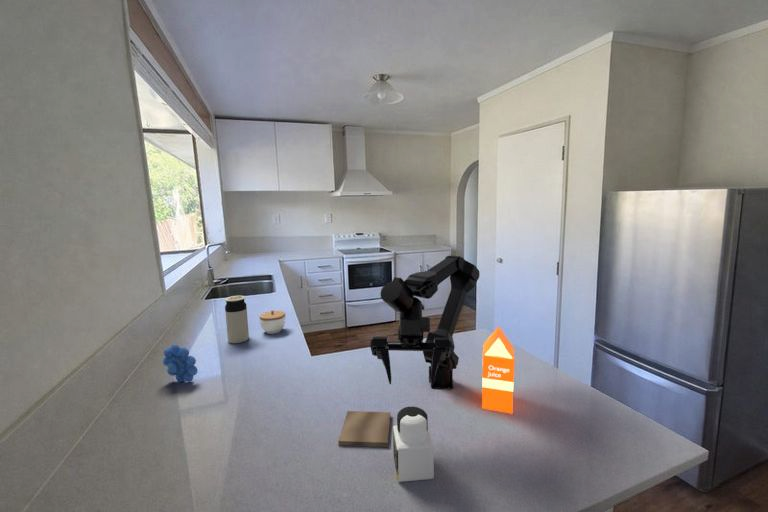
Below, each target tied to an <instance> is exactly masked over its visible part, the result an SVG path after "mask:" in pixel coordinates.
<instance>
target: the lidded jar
mask: <svg viewBox="0 0 768 512" xmlns="http://www.w3.org/2000/svg"><path fill="white" fill-rule="evenodd" d="M259 320H260V327H261V329H262V330H263V331H264V332H266V333H267V334H271V335H272V334H273V335H275V334H278V333H280V332H282V330H283V329H284V327H285V324H286V312H285V311H283V310H269V311H266V312H263V313H261V314H260V315H259Z"/></svg>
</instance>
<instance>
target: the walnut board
mask: <svg viewBox="0 0 768 512" xmlns="http://www.w3.org/2000/svg"><path fill="white" fill-rule="evenodd" d="M390 424H391V411H384V412H383V411H358V410H357V411H356V410H353V411H352V410H348V411H346V415H345V419H344V421H343V425H342V428H341V431H340V434H339V437H338V446H357V447H358V446H359V447H385V448H386V447H389V446H388V445H389V436H390V435H389V434H390Z"/></svg>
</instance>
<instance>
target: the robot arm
mask: <svg viewBox="0 0 768 512" xmlns="http://www.w3.org/2000/svg"><path fill="white" fill-rule="evenodd" d="M448 278H449V280H450V281H449V282H450V284H451V289H450V291H449V294H448V296H447V300H446V302H445V306H444V308H443V311H442V314H441V316H440V319H439V322H438V325H437V328H436V330H435V331H434V332H431V321H430V317H428V316H427V317H424V316H423V310H425V306H424V304H423V302H422V301H421V299H422V298H423V299H427V300H428V299H431V298H432V297H434V295H435V294H436V293H437V292H438V290H439V285H440V284H441V283H442V282H443V281H445V280H446V279H448ZM479 278H480V270H479V268H477V266H476V265H475V264H474V263H471V262H469V261H468V260H466V259H465V258H464V257H462V256H460V255H447V256H445V258H444V259H442V260H441V261H440V262H438V263H437V264H435V265H433V266H432V267H431V268H429V269H427V270H424V271H418V272H414V273H411V274H410V275H408V276H407V277H406V279H405V280H403V278H402V277H396V276H395V277H393V280H391V281H389V282H387V283H385V285H384V286H382V288H381V291H380V298H381V300H382V302H384V303H386V304H387V306H389V307H390V308H391V309H393V311H395V312H397V313H399V322H398V325H399V327H398V328H397V329H398V332H397V333H398V335H397V339H398V341H389V338H388V336H373V337H372V338H370V345H369V346H370V347H369V348H370V352H371V354H372V356H374V357H376V358H377V359H378V360H381V361H382V363H383V366H384V369H385V372H386V375H387V379H388V383H389V385H392V370H391V360H390V359H391V357H390V351H397V352H398V351H409V352H412V351H413V352H422V354H423V357H424V361H425V363H428V364H430V365H429V366H428V383H429V384H430V388H431V389H454V384H453V383H454V382H453V380H454V379H453V378H454V377H453V375H454V374H453V370H455V369H457V366H458V365H459V359H460V358H459V356H458V355H457V354H456V353H455V347H456V346H455V342H454V338H453V336H454V332H455V330H456V326H457V324H458V322H459V321H458V320H459V318H460V315H461V311H462V310H463V309H462V308H463V306H464V302H465V300H466V296H467V294H468V293H469V292H470V291H472V290H473V289H474V288H475V286H476V285H477V281H478V280H479ZM420 298H421V299H420ZM424 333H428V334H427V335H426V339H425V342H424Z"/></svg>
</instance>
